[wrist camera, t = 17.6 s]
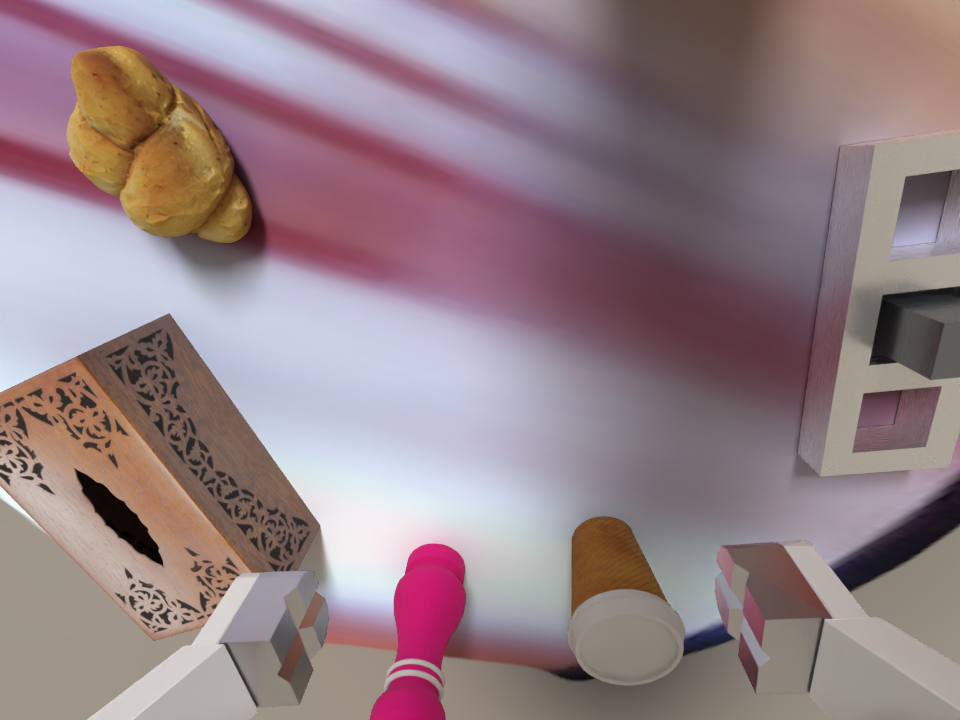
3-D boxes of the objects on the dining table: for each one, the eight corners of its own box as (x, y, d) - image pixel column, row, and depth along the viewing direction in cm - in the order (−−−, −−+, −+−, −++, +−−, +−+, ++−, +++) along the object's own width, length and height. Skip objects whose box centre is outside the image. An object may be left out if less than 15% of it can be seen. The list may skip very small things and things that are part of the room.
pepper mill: (482, 570, 52) (467, 797, 33) (433, 597, 54) (394, 825, 36) (439, 528, 50) (397, 747, 31) (390, 559, 52) (324, 779, 34)
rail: (840, 146, 33) (875, 145, 30) (997, 122, 32) (1051, 119, 29) (797, 452, 43) (819, 476, 40) (915, 443, 42) (948, 467, 39)
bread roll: (288, 213, 38) (235, 227, 30) (198, 268, 40) (128, 293, 33) (180, 45, 34) (88, 15, 26) (86, 117, 36) (-23, 108, 28)
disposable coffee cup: (537, 540, 50) (544, 650, 39) (604, 487, 46) (633, 590, 35) (600, 587, 52) (625, 703, 41) (669, 539, 48) (715, 651, 37)
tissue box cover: (54, 368, 45) (-63, 422, 36) (171, 312, 42) (76, 356, 33) (214, 558, 54) (153, 641, 45) (321, 523, 51) (279, 604, 42)
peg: (859, 290, 37) (944, 323, 30) (914, 284, 37) (1015, 316, 30) (851, 337, 39) (930, 380, 32) (904, 332, 38) (996, 373, 31)
